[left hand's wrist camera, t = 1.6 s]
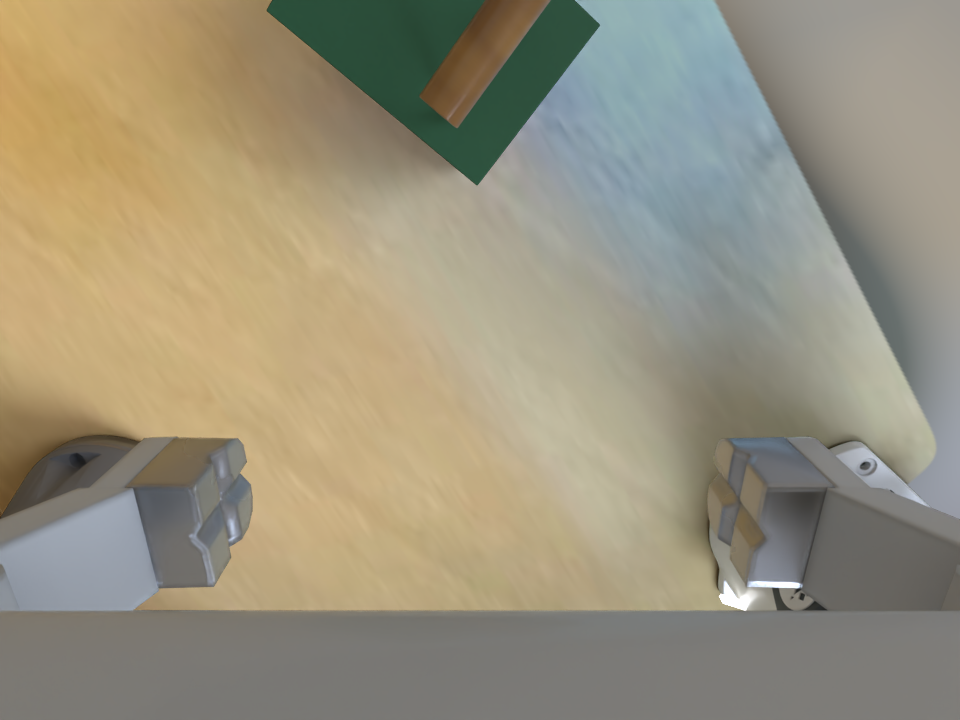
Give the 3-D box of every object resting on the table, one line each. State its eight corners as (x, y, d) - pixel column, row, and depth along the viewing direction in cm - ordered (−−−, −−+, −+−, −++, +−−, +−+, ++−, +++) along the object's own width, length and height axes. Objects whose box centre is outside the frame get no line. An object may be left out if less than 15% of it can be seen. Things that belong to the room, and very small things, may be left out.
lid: (597, 28, 31) (639, -15, 22) (477, 184, 34) (474, 199, 25) (383, -177, 28) (338, -315, 19) (272, 14, 31) (191, -35, 22)
